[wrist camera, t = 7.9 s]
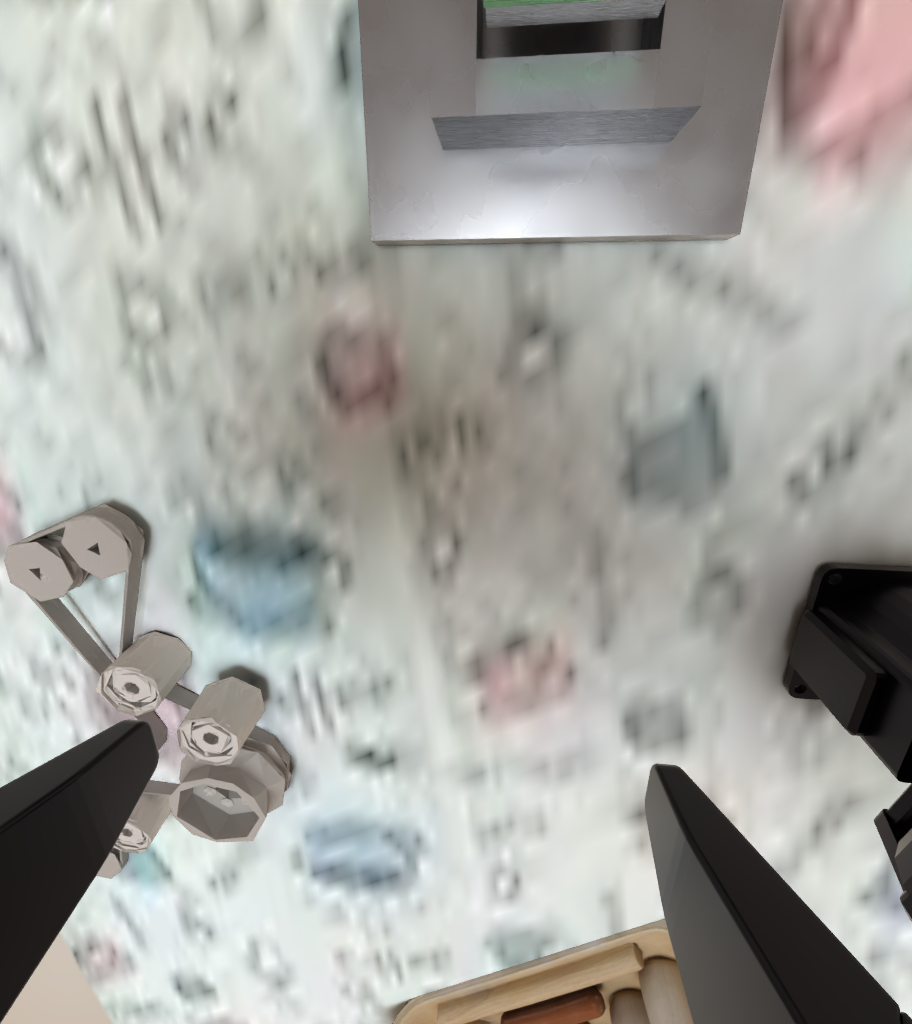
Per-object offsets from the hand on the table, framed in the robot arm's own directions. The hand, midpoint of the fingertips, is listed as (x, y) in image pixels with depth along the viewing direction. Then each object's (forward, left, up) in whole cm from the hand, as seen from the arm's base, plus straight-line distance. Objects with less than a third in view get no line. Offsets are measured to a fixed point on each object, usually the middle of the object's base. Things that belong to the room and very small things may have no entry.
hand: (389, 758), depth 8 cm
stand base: (-3, -16, -13) cm, 21 cm away
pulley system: (+17, +14, -14) cm, 26 cm away
